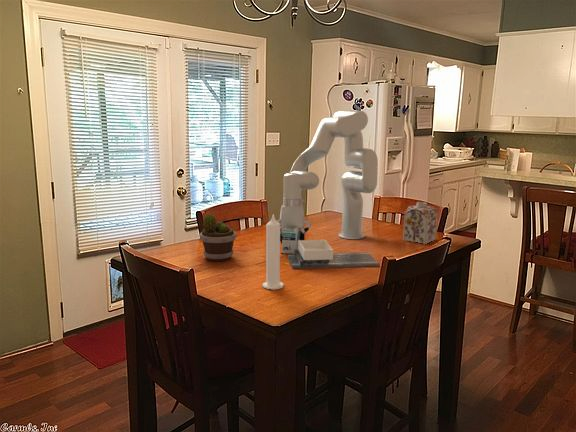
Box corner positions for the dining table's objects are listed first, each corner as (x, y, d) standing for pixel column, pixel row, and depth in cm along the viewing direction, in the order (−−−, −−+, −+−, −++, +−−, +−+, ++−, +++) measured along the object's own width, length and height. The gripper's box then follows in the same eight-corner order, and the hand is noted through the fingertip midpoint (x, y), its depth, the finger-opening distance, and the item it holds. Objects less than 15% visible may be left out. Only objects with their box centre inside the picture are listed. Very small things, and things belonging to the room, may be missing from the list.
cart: (298, 253, 198) (298, 240, 197) (324, 252, 199) (325, 239, 198) (303, 264, 183) (303, 250, 182) (332, 263, 185) (333, 249, 184)
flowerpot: (231, 251, 205) (230, 205, 201) (240, 261, 191) (240, 212, 187) (196, 254, 200) (195, 207, 196) (204, 265, 186) (203, 214, 182)
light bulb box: (297, 254, 202) (297, 229, 199) (281, 253, 203) (281, 228, 201) (301, 247, 212) (301, 223, 210) (286, 246, 213) (286, 222, 211)
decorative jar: (413, 236, 235) (415, 199, 231) (436, 240, 227) (439, 202, 224) (402, 240, 226) (404, 202, 222) (425, 245, 218) (428, 206, 215)
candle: (283, 282, 168) (283, 212, 163) (283, 289, 161) (284, 216, 156) (262, 282, 167) (262, 212, 162) (262, 289, 161) (262, 216, 155)
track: (287, 256, 198) (287, 249, 198) (367, 254, 202) (368, 247, 202) (292, 268, 183) (292, 261, 182) (379, 266, 187) (379, 258, 186)
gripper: (311, 200, 208) (310, 239, 211) (270, 201, 206) (270, 240, 209) (314, 203, 200) (313, 244, 204) (272, 204, 198) (272, 245, 202)
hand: (291, 242), depth 207 cm, fingers closed on light bulb box, 8 cm apart
